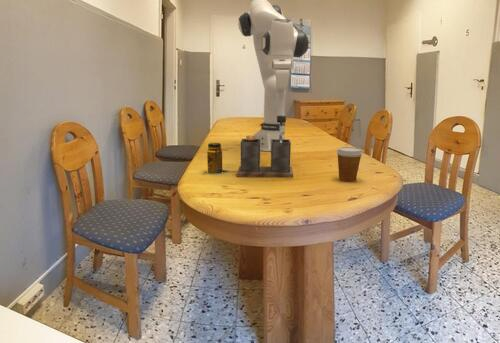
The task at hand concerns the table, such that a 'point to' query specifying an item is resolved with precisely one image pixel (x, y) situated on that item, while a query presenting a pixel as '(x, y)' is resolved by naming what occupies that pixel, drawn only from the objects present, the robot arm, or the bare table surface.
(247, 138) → the plunger left
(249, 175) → the stand
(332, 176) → the table surface
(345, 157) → the disposable coffee cup
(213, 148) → the condiment
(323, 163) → the table surface
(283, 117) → the plunger right
